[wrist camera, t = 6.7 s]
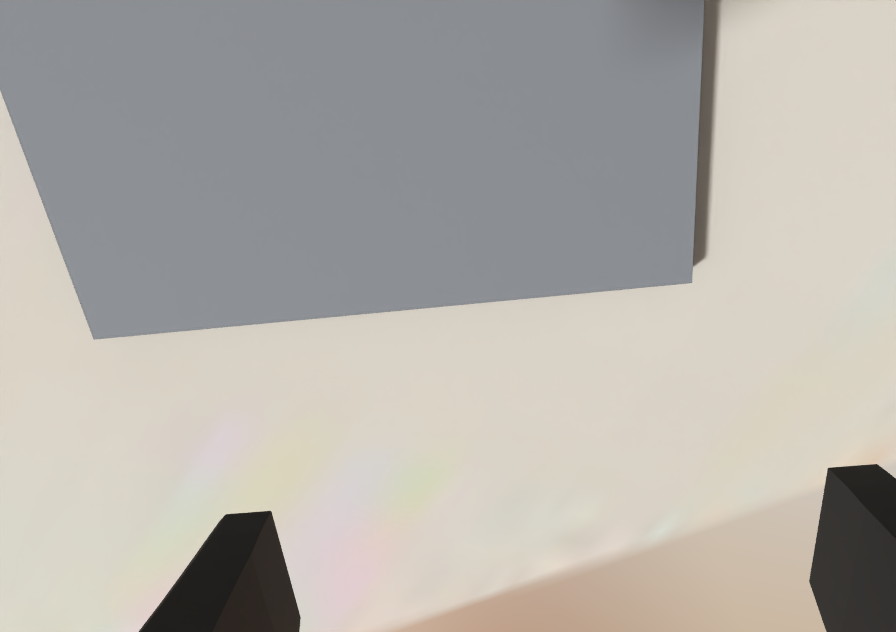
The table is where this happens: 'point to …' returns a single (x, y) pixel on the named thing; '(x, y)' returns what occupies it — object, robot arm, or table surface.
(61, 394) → the table surface
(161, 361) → the table surface
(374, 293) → the T board
